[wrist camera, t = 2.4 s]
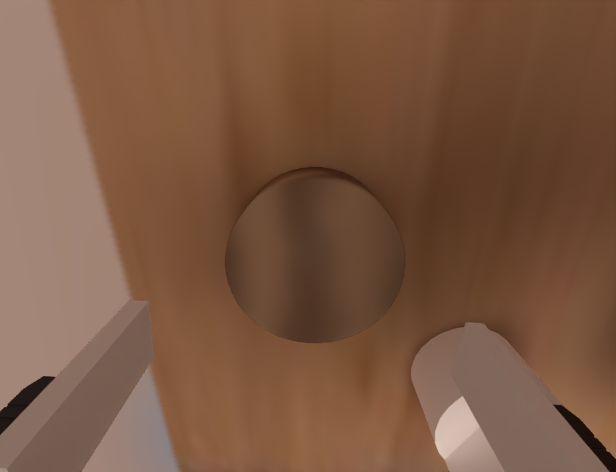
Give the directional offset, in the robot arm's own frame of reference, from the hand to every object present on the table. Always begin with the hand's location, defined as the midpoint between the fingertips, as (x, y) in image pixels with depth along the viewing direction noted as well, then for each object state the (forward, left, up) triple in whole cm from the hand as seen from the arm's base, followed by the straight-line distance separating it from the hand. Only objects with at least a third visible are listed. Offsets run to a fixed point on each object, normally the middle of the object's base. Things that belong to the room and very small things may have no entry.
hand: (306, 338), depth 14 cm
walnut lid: (0, 0, -12) cm, 12 cm away
